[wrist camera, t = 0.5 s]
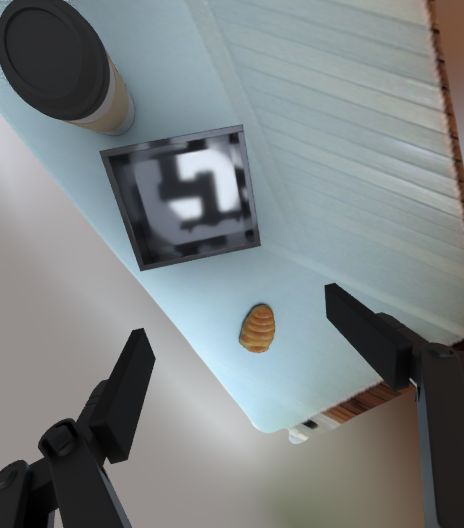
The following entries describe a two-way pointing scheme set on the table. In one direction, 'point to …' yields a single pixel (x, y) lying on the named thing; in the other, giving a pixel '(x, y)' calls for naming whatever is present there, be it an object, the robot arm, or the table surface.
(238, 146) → the dark grey open box
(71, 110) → the coffee cup
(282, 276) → the table surface
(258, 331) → the pastry
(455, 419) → the robot arm
